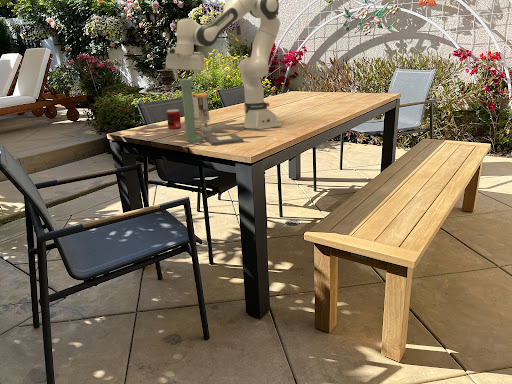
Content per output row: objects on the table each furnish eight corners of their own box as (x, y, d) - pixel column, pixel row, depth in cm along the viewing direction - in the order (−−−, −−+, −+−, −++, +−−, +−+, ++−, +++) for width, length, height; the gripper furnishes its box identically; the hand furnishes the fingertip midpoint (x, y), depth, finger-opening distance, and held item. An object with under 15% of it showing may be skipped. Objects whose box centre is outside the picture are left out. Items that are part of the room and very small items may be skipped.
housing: (210, 134, 227) (209, 121, 224) (212, 136, 222) (211, 123, 220) (201, 135, 225) (200, 122, 223) (203, 136, 221) (202, 124, 218)
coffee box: (209, 119, 274) (208, 95, 269) (204, 121, 269) (202, 96, 263) (198, 119, 278) (196, 95, 273) (193, 120, 273) (190, 96, 268)
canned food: (182, 127, 251) (180, 109, 248) (180, 129, 244) (178, 111, 240) (169, 127, 251) (167, 109, 248) (167, 130, 244) (165, 111, 240)
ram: (207, 115, 212) (205, 93, 208) (209, 117, 207) (208, 94, 203) (192, 116, 210) (190, 94, 206) (195, 118, 205) (192, 95, 201)
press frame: (198, 139, 216) (193, 78, 205) (201, 141, 208) (196, 79, 198) (185, 140, 214) (179, 79, 203) (187, 143, 206) (181, 80, 196)
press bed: (235, 137, 217) (235, 133, 216) (243, 142, 204) (243, 138, 204) (206, 140, 212) (205, 136, 211) (212, 145, 199) (211, 142, 199)
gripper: (206, 52, 214) (205, 79, 218) (168, 50, 217) (169, 77, 221) (202, 52, 208) (202, 80, 212) (164, 49, 211) (164, 77, 215)
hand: (185, 78), depth 217 cm, fingers open, 8 cm apart
